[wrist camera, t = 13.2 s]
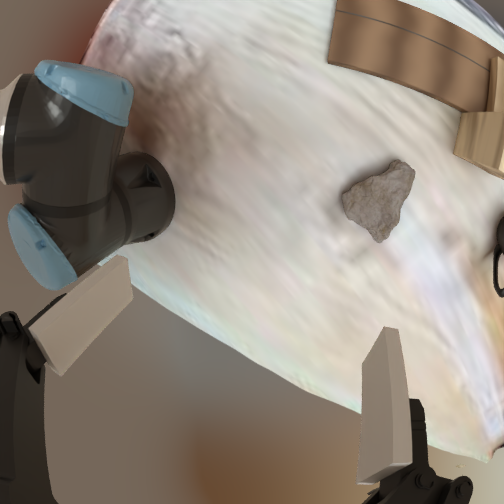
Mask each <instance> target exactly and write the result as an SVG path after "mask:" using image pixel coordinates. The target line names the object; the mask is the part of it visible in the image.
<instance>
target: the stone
mask: <svg viewBox="0 0 504 504" xmlns="http://www.w3.org/2000/svg"><path fill="white" fill-rule="evenodd" d="M414 178H415V170H414V169H412V168H411V167H410V166H409V165H408V164H407V163H406V162H401V161H400V160H396V161H394V162H392V163H391V164H390V167H389V169H388V170H387V171H386V172H385V173H382V174H380V175H378V176H371V177H369V178H368V179H366V180H365V181H363V182H360V183H359V182H358V183H357V184H355V185H353V186H352V187H351V188H350V191H348V192H346V193H344V194H342V201H343V204H344V210H345V214H346V216H347V218H348V219H349V220H353V221H355V222H356V223H357V224H359V225H361V226H362V227H364V228H366V229H367V230H368V231H369V233H370V234H371V236H372V237H373V239H374V240H375V241H376V242H377V243H381V242H382V241H383V240H385V239H387V238H388V237H389V235H390V232H391V230H392V229H393V228H394V227H395V226H397V224H398V223H399V220H400V209H401V207H402V205H403V202H404V200H405V199H406V198H407V197H408V195H409V193H410V190H411V187H412V183H413V181H414Z"/></svg>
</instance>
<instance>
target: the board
mask: <svg viewBox="0 0 504 504" xmlns="http://www.w3.org/2000/svg"><path fill="white" fill-rule="evenodd" d="M497 56H498V57H500V58H501V59H502V60H504V54H503V53H501V52H500V51H499V50H497V49H496V48H494V47H493V46H491V45H489V44H488V43H486V42H485V41H483V40H482V39H480V38H478V37H477V36H475V35H473V34H471V33H470V32H468V31H466V30H464V29H462V28H461V27H459V26H457V25H455V24H453V23H451V22H449V21H447V20H445V19H443V18H440V17H438V16H436V15H434V14H432V13H429V12H427V11H425V10H422V9H420V8H417V7H415V6H412V5H409V4H407V3H404V2H401V1H398V0H337V5H336V12H335V18H334V25H333V31H332V37H331V43H330V49H329V55H328V64H332V65H337V66H341V67H345V68H349V69H353V70H357V71H360V72H364V73H367V74H371V75H374V76H377V77H380V78H383V79H386V80H389V81H392V82H395V83H398V84H400V85H403V86H406V87H408V88H411V89H413V90H416V91H418V92H421V93H423V94H426V95H428V96H430V97H432V98H435V99H437V100H439V101H441V102H443V103H445V104H447V105H449V106H451V107H453V108H455V109H457V110H459V111H461V112H463V113H465V112H486V111H487V103H488V95H489V85H490V70H491V59H492V58H495V57H497Z"/></svg>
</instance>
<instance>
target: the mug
mask: <svg viewBox="0 0 504 504" xmlns="http://www.w3.org/2000/svg"><path fill="white" fill-rule="evenodd" d="M497 241H498V243H499V244H498V245H497V246H496V248H495V250H494V258H493V284H494V288H495V290H496V292H497V294H498V295H499V297H504V288H503V289H500V287H499V284H498V261H499V257H500V255H501V254H502V253H503V255H504V217H503V218H502V219H501V221H500V223H499V225H498V228H497Z"/></svg>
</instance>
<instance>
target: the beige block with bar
mask: <svg viewBox="0 0 504 504" xmlns="http://www.w3.org/2000/svg"><path fill="white" fill-rule="evenodd" d="M453 154H454V155H456V156H458V157H460V158H462V159H464V160H466V161H468V162H470V163H472V164H474V165H476V166H477V167H479V168H481V169H483V170H485V171H486V172H488V173H490V174H492V175H494V176H497V177H499V178H501V179H503V180H504V60H502V59H501V58H500V57H498V56H497V57H495V58H492V59H491V70H490V85H489V95H488V103H487V111H486V112H465V113H462V114H461V120H460V125H459V130H458V135H457V139H456V144H455V148H454V152H453Z"/></svg>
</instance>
